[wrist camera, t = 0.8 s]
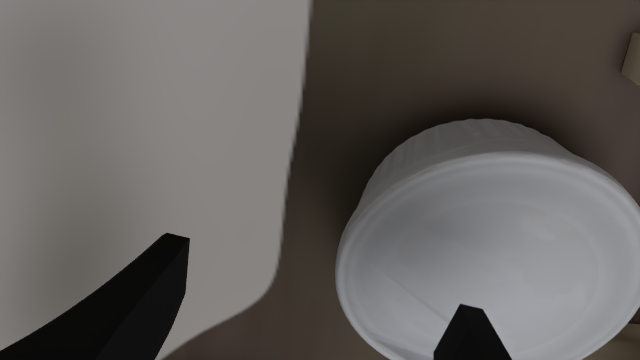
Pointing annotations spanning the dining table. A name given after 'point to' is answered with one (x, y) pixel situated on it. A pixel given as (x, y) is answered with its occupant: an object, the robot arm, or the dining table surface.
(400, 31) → the dining table surface
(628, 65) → the pair of beige bars
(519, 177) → the ramekin
